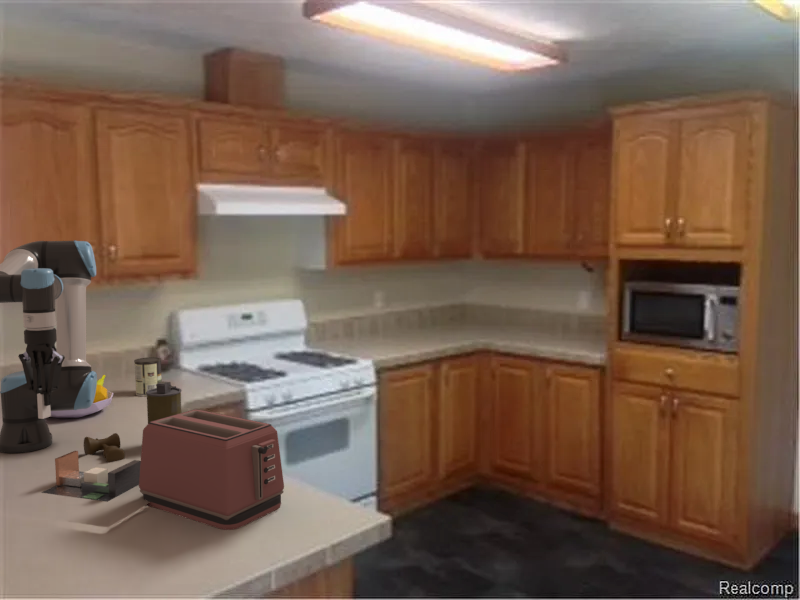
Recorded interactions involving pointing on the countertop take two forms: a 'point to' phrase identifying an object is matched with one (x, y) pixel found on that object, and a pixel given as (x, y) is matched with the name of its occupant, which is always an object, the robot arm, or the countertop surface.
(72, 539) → the countertop surface
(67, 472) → the two-tone wooden block
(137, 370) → the coffee can
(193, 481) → the toaster
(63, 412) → the fruit bowl
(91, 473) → the cream cube block
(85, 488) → the grey slider puzzle board
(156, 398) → the canister
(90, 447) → the kendama
